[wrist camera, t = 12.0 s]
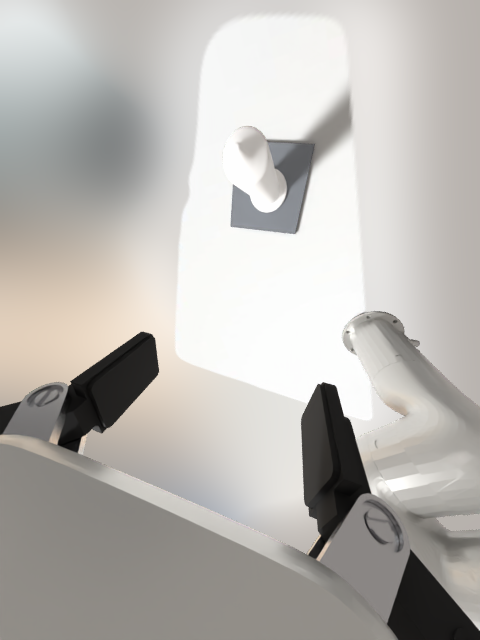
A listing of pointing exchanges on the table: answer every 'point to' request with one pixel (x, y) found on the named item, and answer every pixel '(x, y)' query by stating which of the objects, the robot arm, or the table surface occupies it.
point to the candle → (254, 168)
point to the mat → (295, 170)
